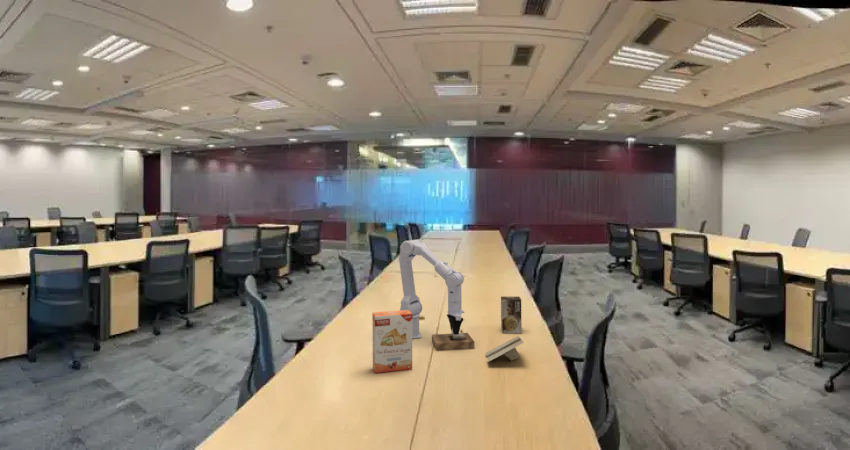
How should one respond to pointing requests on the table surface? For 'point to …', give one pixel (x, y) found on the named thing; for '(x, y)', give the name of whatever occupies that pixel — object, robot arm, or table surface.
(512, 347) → the grey slanted stand
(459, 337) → the grey block
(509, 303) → the coffee box
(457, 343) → the well block
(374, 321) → the cracker box
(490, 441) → the table surface
